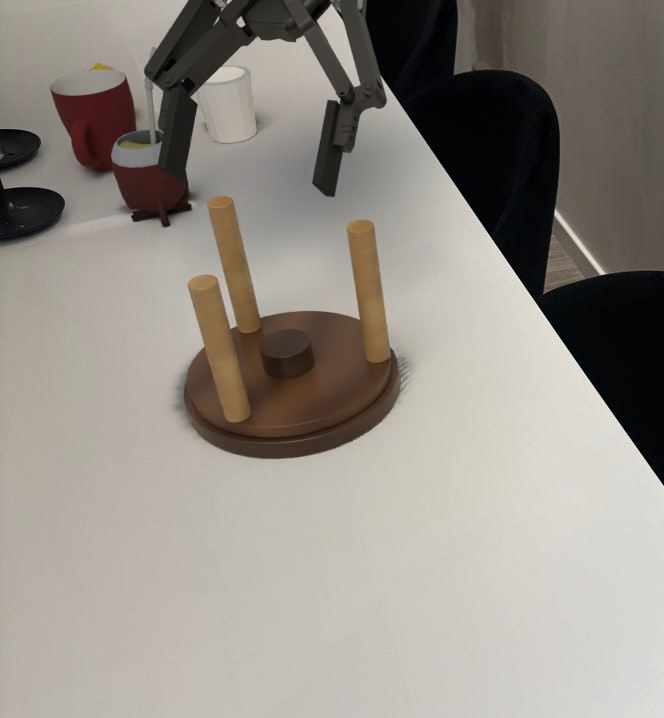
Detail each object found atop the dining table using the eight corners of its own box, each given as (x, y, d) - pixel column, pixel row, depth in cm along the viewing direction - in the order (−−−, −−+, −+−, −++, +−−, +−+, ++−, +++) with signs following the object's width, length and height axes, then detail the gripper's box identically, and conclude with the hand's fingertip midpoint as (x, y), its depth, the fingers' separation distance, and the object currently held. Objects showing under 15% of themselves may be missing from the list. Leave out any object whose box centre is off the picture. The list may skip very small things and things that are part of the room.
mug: (138, 195, 106) (110, 102, 99) (65, 199, 106) (32, 106, 99) (158, 156, 114) (134, 67, 107) (90, 159, 114) (62, 71, 107)
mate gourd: (133, 235, 99) (85, 84, 89) (124, 204, 104) (78, 58, 94) (205, 220, 101) (167, 70, 90) (193, 190, 106) (155, 46, 96)
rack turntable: (151, 422, 73) (101, 279, 64) (243, 312, 84) (210, 178, 76) (350, 450, 69) (324, 303, 61) (418, 331, 80) (403, 193, 72)
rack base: (173, 363, 81) (168, 347, 80) (365, 316, 86) (363, 301, 84) (208, 483, 70) (203, 467, 69) (429, 422, 74) (427, 406, 73)
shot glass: (242, 118, 121) (230, 59, 116) (272, 132, 117) (261, 72, 112) (194, 134, 118) (180, 75, 113) (224, 150, 114) (210, 88, 109)
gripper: (455, -46, 77) (406, 214, 77) (182, -56, 83) (137, 185, 83) (428, -110, 70) (374, 178, 70) (130, -115, 76) (81, 149, 76)
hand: (245, 183), depth 77 cm, fingers open, 13 cm apart
